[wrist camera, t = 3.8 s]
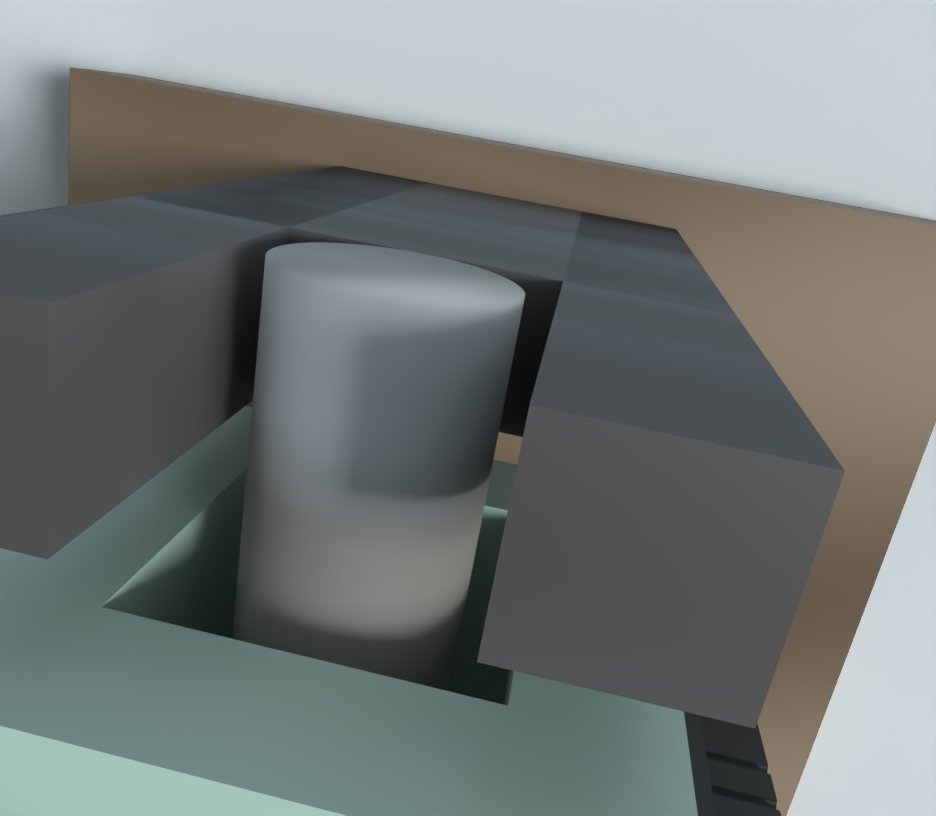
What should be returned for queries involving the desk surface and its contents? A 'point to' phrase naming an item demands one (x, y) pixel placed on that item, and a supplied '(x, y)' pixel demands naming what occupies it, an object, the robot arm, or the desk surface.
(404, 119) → the desk surface
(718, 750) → the robot arm
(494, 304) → the rod stand
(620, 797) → the sleeve
